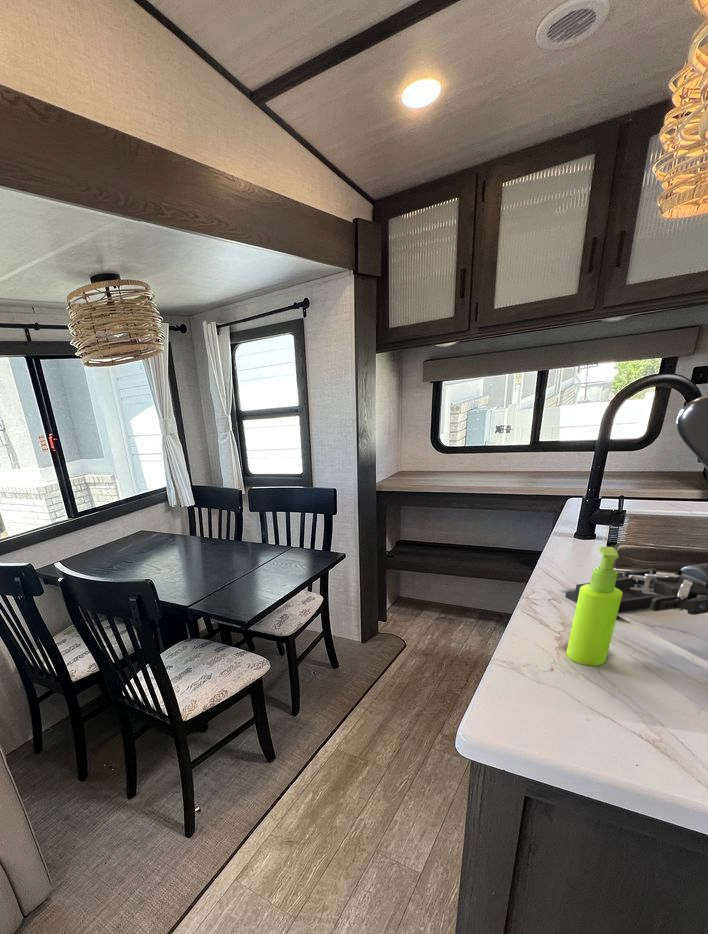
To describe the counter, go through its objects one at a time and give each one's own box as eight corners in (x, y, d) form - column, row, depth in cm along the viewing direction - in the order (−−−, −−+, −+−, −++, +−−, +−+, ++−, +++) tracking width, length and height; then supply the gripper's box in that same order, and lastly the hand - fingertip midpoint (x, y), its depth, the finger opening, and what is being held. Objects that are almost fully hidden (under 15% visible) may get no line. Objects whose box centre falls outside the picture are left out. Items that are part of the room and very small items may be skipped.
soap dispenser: (601, 648, 86) (626, 544, 78) (608, 667, 80) (636, 558, 72) (563, 644, 88) (584, 543, 80) (568, 662, 83) (591, 556, 75)
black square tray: (621, 589, 108) (624, 576, 106) (669, 610, 97) (674, 596, 95) (565, 596, 106) (567, 583, 105) (607, 619, 95) (610, 605, 94)
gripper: (683, 551, 87) (602, 561, 86) (769, 577, 74) (675, 590, 73) (672, 588, 90) (594, 598, 89) (753, 620, 77) (662, 632, 76)
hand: (630, 594), depth 81 cm, fingers open, 8 cm apart
